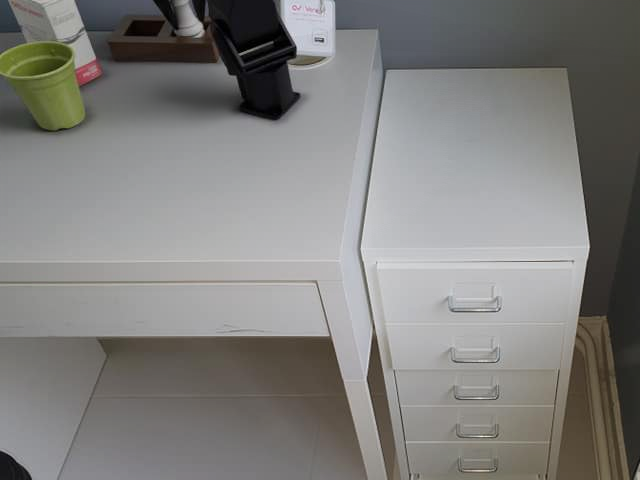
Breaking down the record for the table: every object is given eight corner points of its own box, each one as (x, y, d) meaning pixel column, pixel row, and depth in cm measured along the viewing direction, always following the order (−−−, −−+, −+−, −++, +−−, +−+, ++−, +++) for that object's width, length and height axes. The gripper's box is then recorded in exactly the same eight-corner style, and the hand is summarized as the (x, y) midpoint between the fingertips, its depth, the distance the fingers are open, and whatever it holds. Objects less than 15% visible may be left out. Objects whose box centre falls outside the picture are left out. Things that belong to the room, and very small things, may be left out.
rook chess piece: (181, 48, 109) (162, -6, 103) (172, 35, 112) (153, -19, 105) (210, 39, 111) (193, -15, 104) (201, 27, 113) (183, -27, 107)
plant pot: (60, 94, 104) (32, 34, 97) (114, 109, 102) (89, 49, 95) (10, 128, 98) (-23, 67, 91) (66, 145, 96) (36, 84, 89)
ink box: (106, 74, 107) (72, -9, 98) (77, 89, 105) (40, 5, 95) (67, 57, 110) (31, -25, 101) (38, 72, 107) (-2, -12, 98)
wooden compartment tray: (217, 62, 110) (212, 43, 108) (114, 61, 110) (106, 41, 107) (229, 34, 115) (224, 15, 113) (131, 33, 115) (124, 14, 113)
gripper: (115, -53, 90) (157, 66, 102) (248, -90, 98) (271, 25, 110) (77, -80, 95) (120, 37, 107) (205, -113, 103) (232, -1, 115)
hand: (188, 25), depth 110 cm, fingers closed on rook chess piece, 4 cm apart
